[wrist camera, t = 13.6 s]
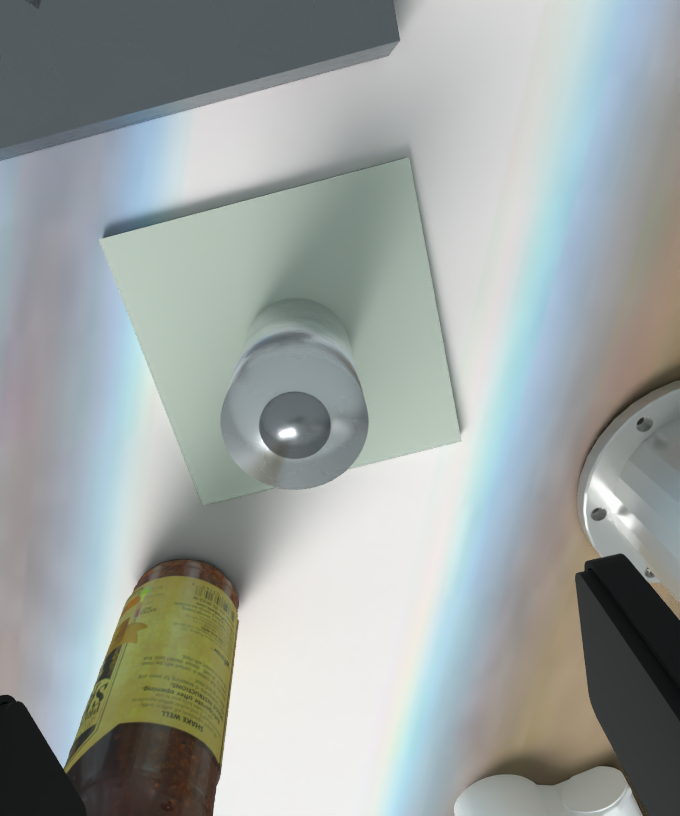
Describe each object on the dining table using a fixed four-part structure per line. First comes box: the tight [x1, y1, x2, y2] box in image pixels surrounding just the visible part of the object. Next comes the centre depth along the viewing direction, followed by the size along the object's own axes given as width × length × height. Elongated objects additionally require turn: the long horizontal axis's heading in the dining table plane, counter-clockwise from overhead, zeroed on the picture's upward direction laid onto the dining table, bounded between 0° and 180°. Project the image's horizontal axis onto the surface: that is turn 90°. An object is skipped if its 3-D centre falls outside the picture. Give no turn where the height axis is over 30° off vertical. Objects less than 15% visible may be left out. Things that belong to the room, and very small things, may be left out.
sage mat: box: [99, 157, 461, 505], centre depth 29 cm, size 14×14×1 cm
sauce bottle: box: [63, 559, 239, 816], centre depth 25 cm, size 7×6×20 cm
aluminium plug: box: [220, 298, 369, 489], centre depth 24 cm, size 5×5×9 cm
